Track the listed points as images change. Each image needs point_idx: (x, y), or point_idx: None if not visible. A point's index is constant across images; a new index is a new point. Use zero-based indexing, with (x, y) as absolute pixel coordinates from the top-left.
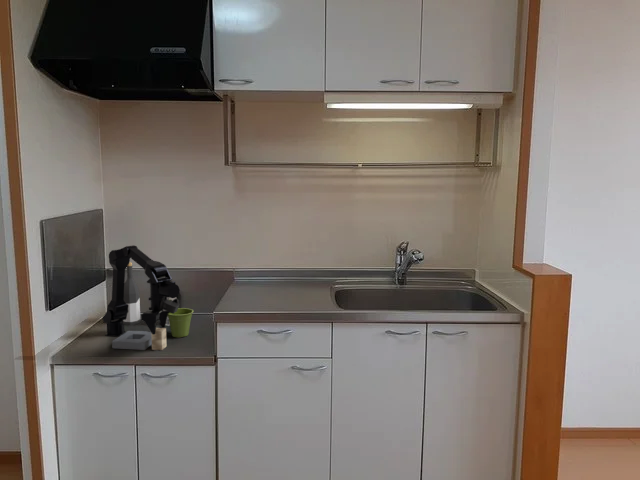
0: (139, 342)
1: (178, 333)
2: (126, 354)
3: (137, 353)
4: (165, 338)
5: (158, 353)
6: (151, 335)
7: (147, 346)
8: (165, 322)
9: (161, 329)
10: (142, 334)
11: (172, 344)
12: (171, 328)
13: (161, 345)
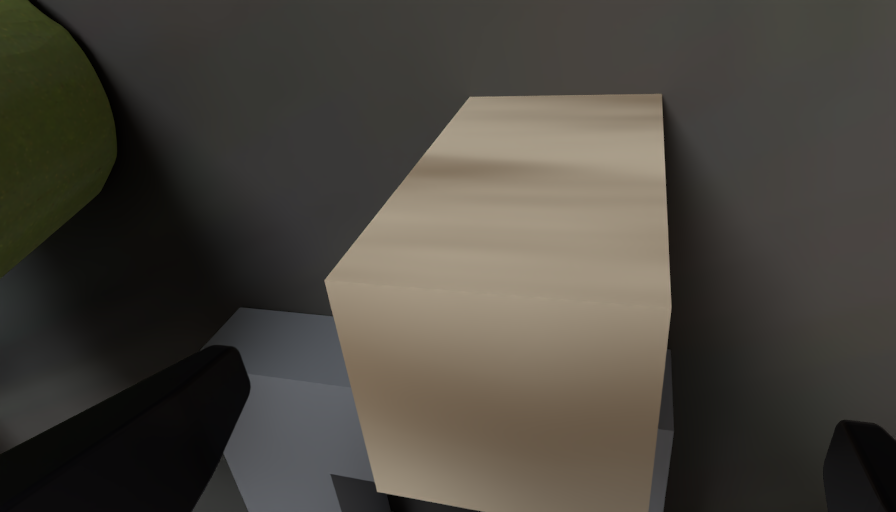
0: (657, 490)
1: (45, 88)
2: None
3: (830, 394)
4: (462, 158)
5: (860, 84)
6: (335, 415)
7: None
8: (118, 413)
9: (466, 362)
10: (340, 506)
11: (362, 35)
12: (24, 243)
13: (662, 136)
